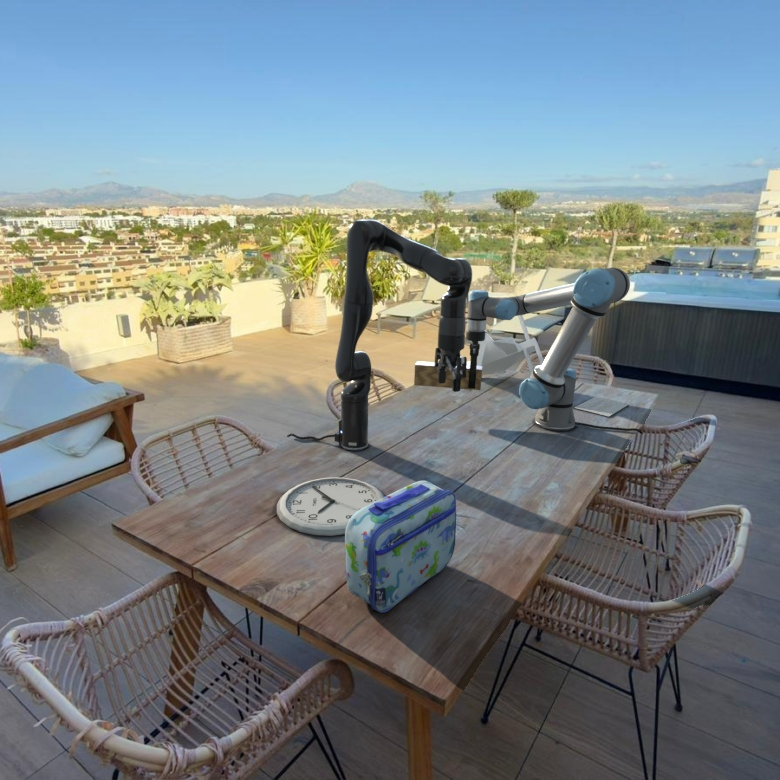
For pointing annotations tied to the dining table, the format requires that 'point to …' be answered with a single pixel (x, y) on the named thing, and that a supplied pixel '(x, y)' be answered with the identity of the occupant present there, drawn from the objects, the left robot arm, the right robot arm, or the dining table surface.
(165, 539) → the dining table surface
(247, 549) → the dining table surface
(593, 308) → the right robot arm
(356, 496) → the wall clock
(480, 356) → the white plastic object
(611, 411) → the invitation card
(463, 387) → the box
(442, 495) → the lunch box
